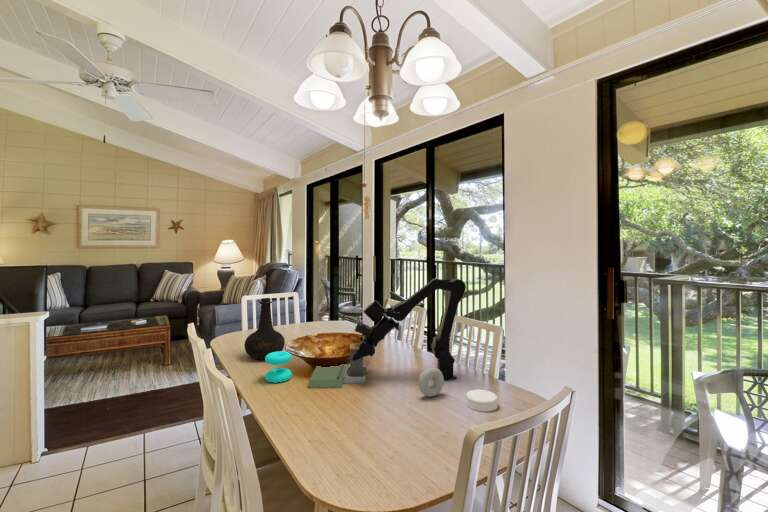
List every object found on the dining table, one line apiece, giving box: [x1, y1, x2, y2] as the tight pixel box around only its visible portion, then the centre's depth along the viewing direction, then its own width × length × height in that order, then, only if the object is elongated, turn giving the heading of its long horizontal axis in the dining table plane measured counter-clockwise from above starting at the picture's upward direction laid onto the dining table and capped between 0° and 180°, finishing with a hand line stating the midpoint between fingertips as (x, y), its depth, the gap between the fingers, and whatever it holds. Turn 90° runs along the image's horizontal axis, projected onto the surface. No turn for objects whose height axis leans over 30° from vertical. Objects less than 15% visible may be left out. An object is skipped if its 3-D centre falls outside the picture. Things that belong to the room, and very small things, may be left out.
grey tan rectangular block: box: [349, 342, 365, 376], centre depth 143 cm, size 5×5×13 cm
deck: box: [308, 363, 368, 389], centre depth 143 cm, size 20×20×4 cm
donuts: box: [264, 350, 293, 384], centre depth 142 cm, size 10×10×10 cm
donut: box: [418, 366, 445, 398], centre depth 125 cm, size 10×4×10 cm, turn 118°
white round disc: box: [465, 389, 499, 413], centre depth 118 cm, size 10×10×4 cm
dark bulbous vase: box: [244, 297, 286, 360], centre depth 170 cm, size 18×18×28 cm
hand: (353, 357), depth 143 cm, fingers closed on grey tan rectangular block, 5 cm apart
